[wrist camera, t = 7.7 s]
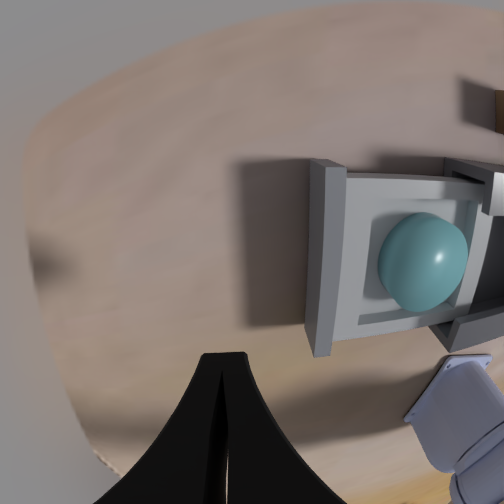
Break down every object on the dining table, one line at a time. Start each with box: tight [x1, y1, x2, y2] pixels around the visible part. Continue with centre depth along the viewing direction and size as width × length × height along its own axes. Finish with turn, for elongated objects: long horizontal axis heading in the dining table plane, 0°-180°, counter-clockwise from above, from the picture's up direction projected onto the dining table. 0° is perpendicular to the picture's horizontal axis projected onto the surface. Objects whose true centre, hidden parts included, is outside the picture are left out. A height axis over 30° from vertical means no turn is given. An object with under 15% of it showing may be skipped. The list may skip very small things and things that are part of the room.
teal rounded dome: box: [378, 212, 468, 312], centre depth 16 cm, size 6×6×2 cm
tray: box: [304, 159, 493, 358], centre depth 17 cm, size 11×12×3 cm
